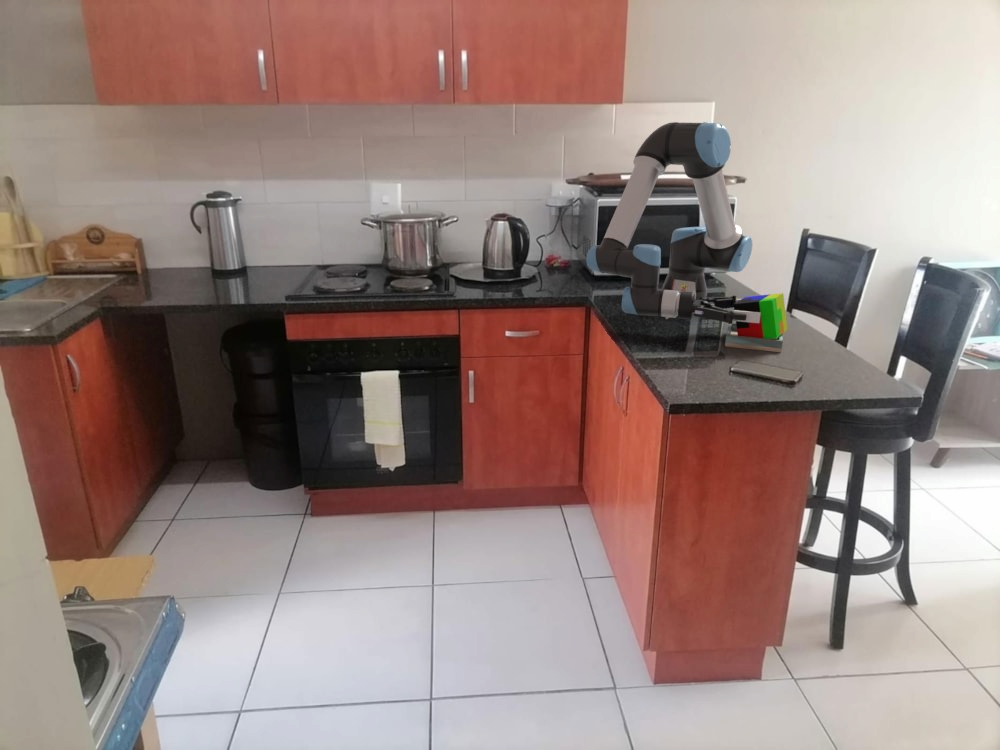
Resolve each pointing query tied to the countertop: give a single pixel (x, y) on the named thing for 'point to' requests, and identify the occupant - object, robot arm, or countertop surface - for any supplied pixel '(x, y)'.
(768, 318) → the puzzle toy
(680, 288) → the tea bag
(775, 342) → the shallow tray
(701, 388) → the countertop surface
